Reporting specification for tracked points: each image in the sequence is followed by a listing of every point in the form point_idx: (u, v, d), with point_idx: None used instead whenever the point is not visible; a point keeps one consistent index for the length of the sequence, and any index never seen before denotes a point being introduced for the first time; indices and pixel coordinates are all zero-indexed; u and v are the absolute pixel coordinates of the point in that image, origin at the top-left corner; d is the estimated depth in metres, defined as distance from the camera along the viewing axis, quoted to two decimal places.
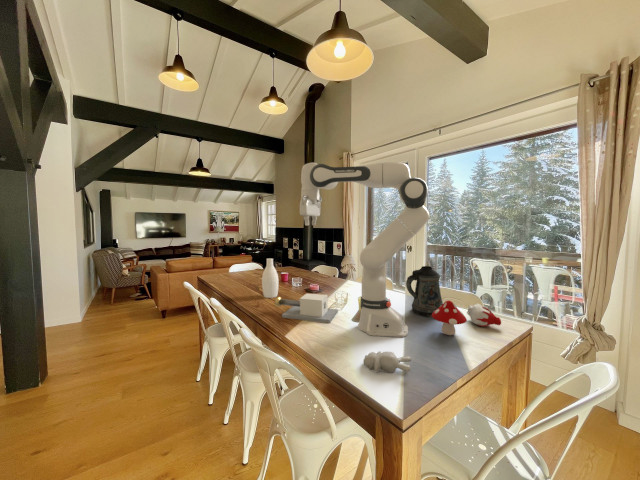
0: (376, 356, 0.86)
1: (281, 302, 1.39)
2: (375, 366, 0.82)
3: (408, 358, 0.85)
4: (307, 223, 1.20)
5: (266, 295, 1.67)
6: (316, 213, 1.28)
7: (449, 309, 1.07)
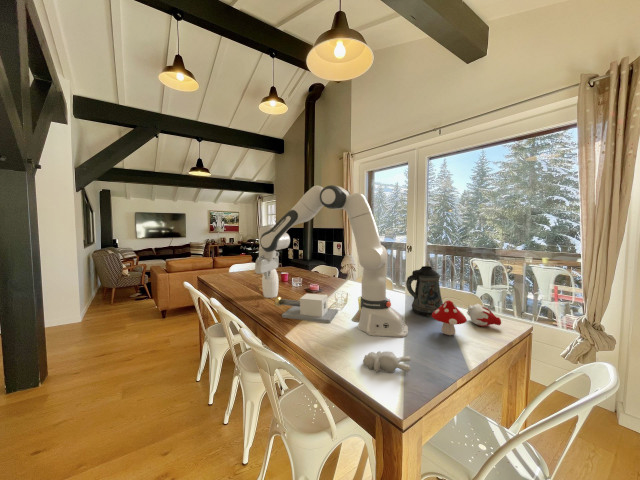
0: (376, 356, 0.86)
1: (281, 302, 1.39)
2: (375, 366, 0.82)
3: (407, 357, 0.85)
4: (266, 277, 1.41)
5: (266, 295, 1.67)
6: (273, 267, 1.46)
7: (449, 309, 1.07)
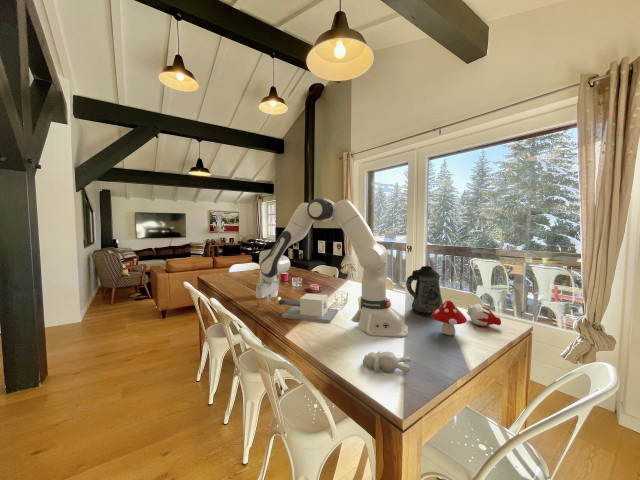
0: (376, 356, 0.86)
1: (281, 302, 1.39)
2: (374, 366, 0.82)
3: (407, 358, 0.85)
4: (267, 301, 1.42)
5: None
6: (274, 290, 1.46)
7: (449, 309, 1.07)
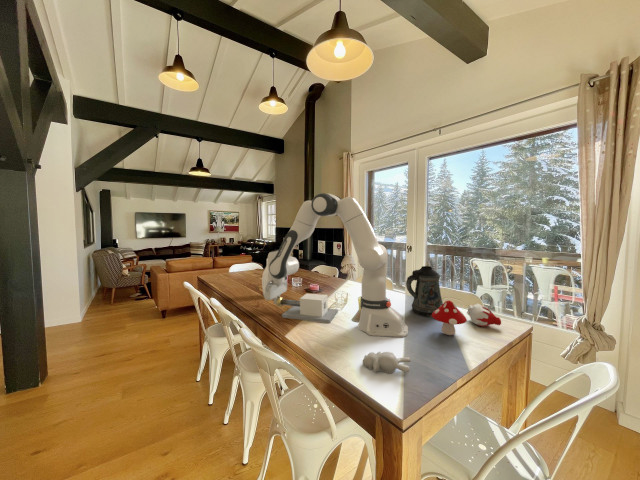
0: (375, 356, 0.86)
1: (283, 302, 1.39)
2: (374, 366, 0.82)
3: (407, 358, 0.85)
4: None
5: None
6: (282, 291, 1.45)
7: (449, 309, 1.07)
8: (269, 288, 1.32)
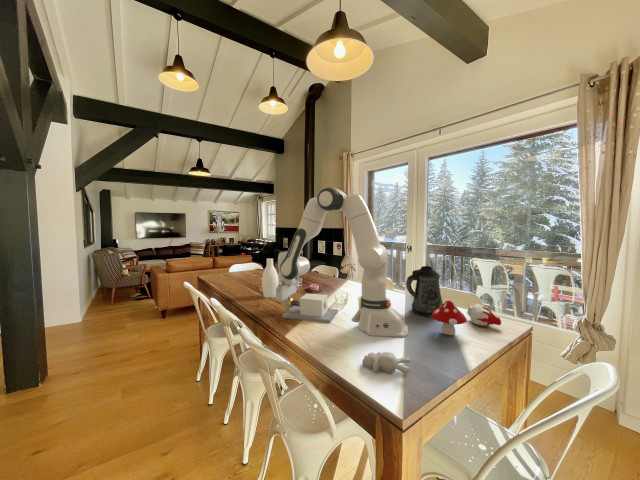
0: (375, 356, 0.86)
1: (293, 303, 1.37)
2: (374, 366, 0.82)
3: (407, 359, 0.84)
4: (286, 303, 1.39)
5: (266, 295, 1.67)
6: (292, 292, 1.43)
7: (449, 309, 1.07)
8: (280, 289, 1.30)
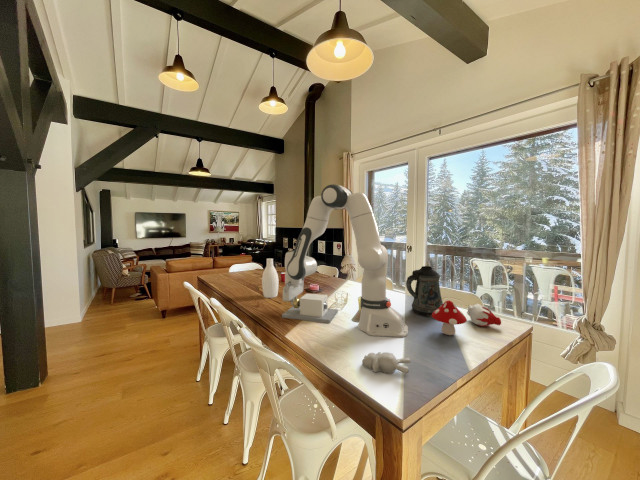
0: (375, 357, 0.86)
1: None
2: (373, 366, 0.81)
3: (407, 359, 0.84)
4: None
5: (266, 295, 1.67)
6: (299, 292, 1.41)
7: (449, 309, 1.07)
8: (287, 289, 1.29)
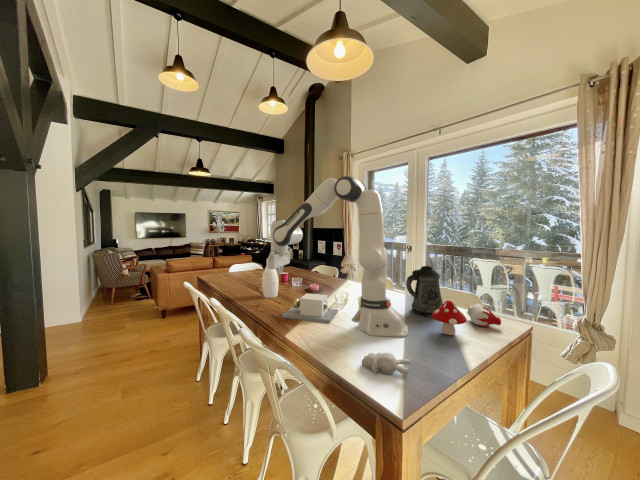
0: (375, 357, 0.85)
1: None
2: (372, 367, 0.81)
3: (407, 360, 0.83)
4: (279, 273, 1.39)
5: (266, 295, 1.67)
6: (285, 262, 1.43)
7: (449, 309, 1.07)
8: (272, 256, 1.31)
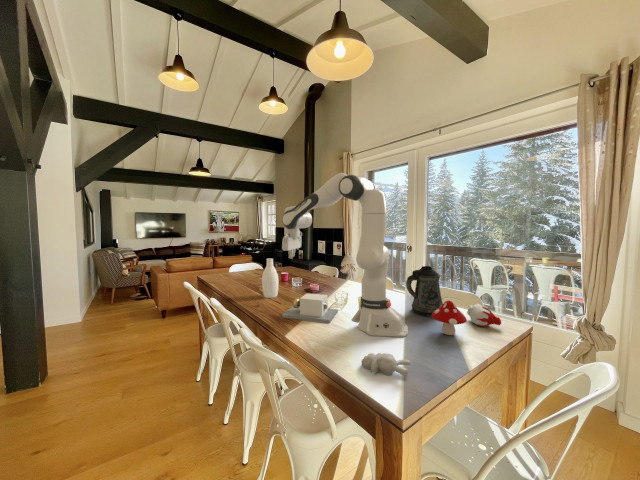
0: (374, 357, 0.85)
1: None
2: (372, 367, 0.81)
3: (407, 361, 0.83)
4: (291, 255, 1.50)
5: (266, 295, 1.67)
6: (297, 246, 1.54)
7: (449, 309, 1.07)
8: (286, 239, 1.42)
